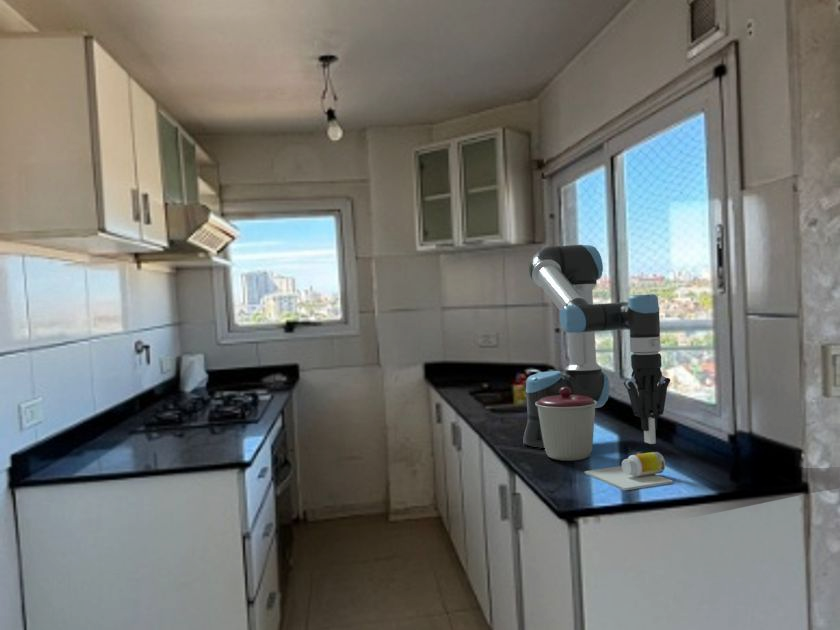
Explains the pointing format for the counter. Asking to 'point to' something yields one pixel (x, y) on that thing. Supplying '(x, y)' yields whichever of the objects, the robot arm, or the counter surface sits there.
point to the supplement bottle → (643, 464)
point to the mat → (626, 478)
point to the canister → (567, 425)
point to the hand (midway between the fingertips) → (650, 442)
